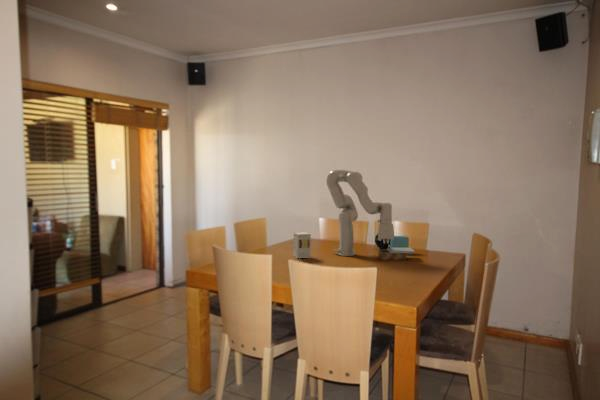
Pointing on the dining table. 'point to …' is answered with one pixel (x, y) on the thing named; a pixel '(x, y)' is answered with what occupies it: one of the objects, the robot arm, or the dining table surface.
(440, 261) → the dining table surface
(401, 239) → the data package
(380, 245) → the decorative orb
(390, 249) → the cover plate
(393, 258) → the box
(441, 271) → the dining table surface
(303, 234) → the supplement box
